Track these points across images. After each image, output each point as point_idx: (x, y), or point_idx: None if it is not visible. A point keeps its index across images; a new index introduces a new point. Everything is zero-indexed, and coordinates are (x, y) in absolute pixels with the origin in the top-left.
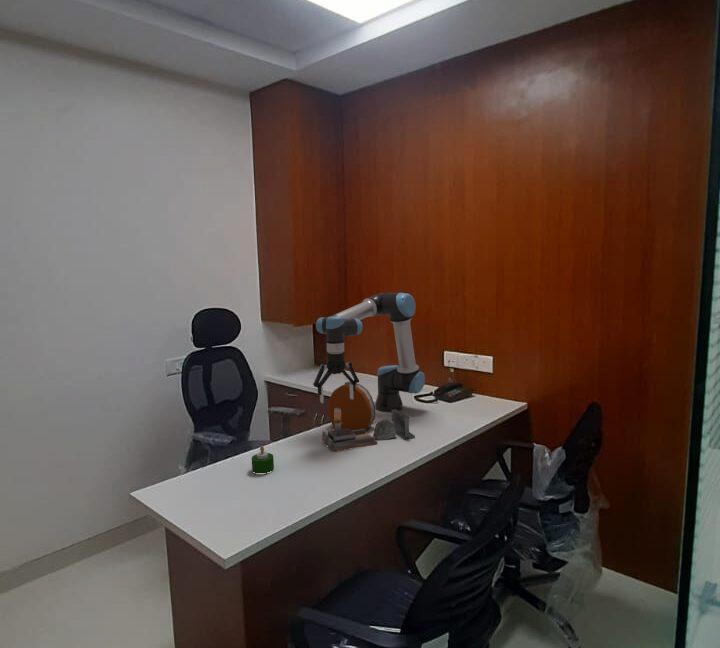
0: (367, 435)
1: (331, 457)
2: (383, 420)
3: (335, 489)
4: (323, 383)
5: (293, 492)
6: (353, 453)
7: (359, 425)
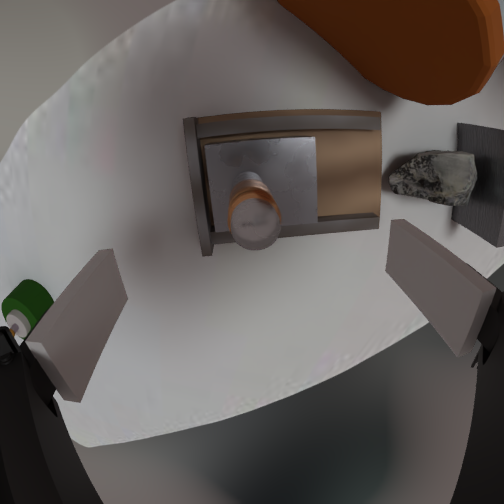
0: (373, 154)
1: (197, 284)
2: (452, 205)
3: (190, 410)
4: (67, 446)
5: (116, 397)
6: (274, 274)
7: (374, 72)
